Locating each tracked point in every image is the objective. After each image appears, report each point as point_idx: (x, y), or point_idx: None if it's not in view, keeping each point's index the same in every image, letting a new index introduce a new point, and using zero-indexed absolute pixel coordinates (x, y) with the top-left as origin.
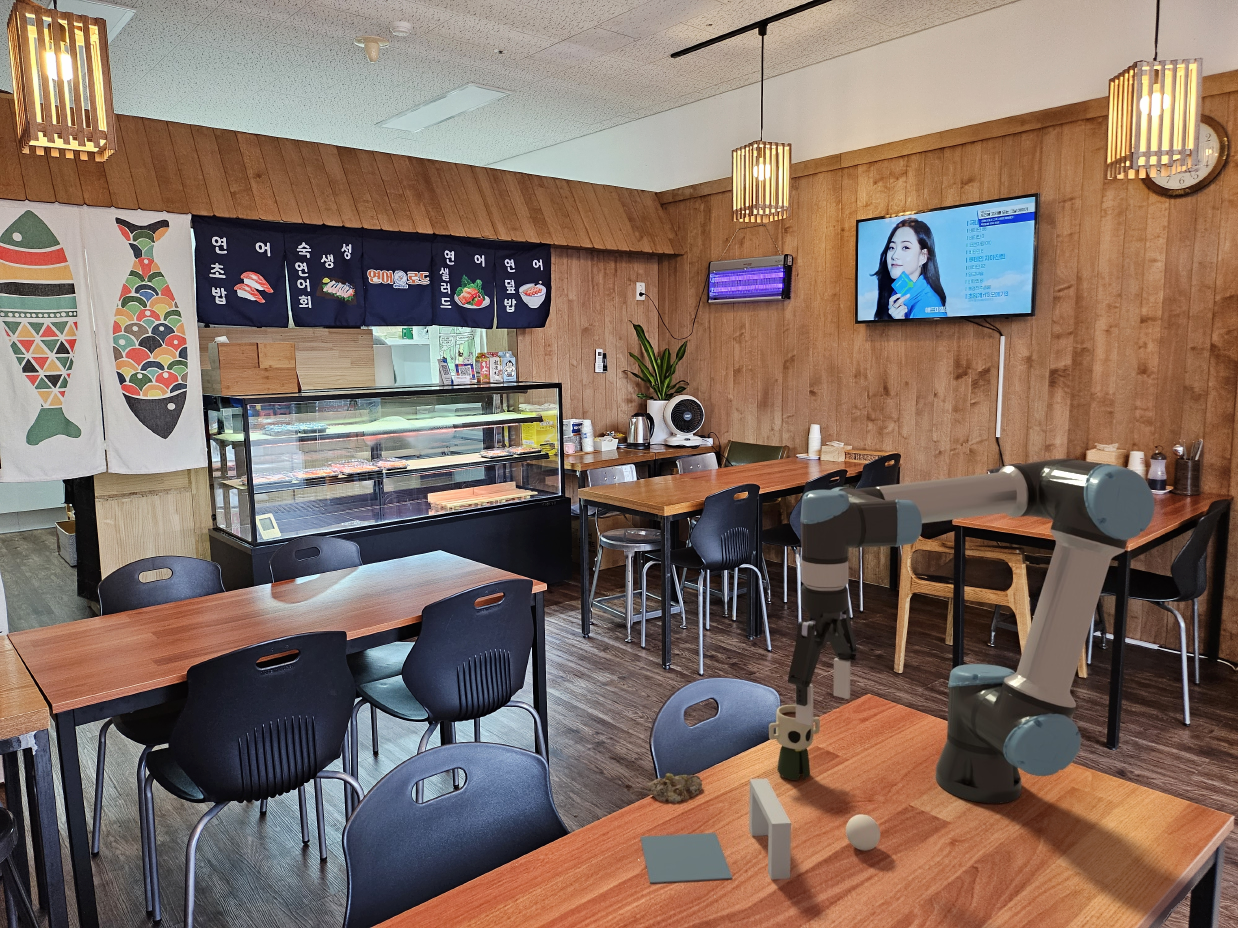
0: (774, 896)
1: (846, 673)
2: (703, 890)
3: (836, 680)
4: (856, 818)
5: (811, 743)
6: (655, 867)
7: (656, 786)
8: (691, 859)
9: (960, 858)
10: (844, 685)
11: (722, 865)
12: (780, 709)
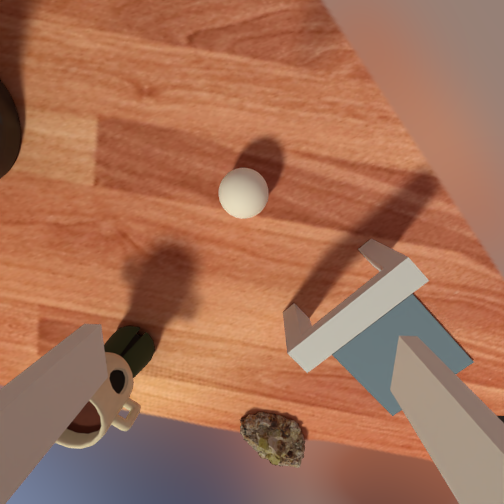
0: (418, 236)
1: (12, 412)
2: (453, 307)
3: (64, 417)
4: (249, 202)
5: None
6: None
7: (299, 457)
8: None
9: (181, 66)
10: (67, 371)
11: (394, 315)
12: (78, 442)
